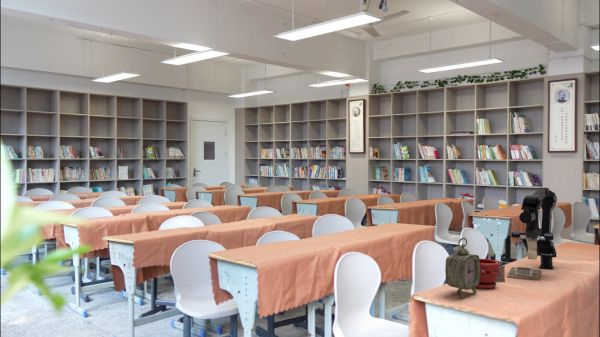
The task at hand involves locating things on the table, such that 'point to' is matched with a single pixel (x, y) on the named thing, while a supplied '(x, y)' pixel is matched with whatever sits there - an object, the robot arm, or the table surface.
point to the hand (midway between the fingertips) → (532, 252)
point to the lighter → (500, 272)
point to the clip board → (524, 273)
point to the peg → (532, 249)
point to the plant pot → (488, 273)
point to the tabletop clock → (463, 270)
